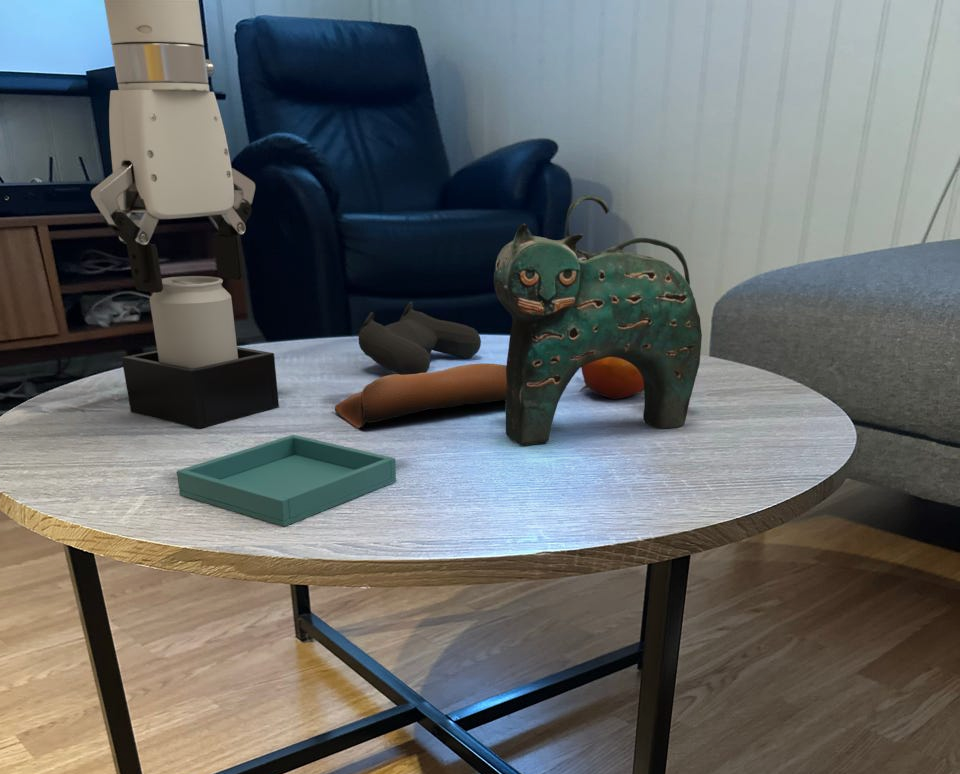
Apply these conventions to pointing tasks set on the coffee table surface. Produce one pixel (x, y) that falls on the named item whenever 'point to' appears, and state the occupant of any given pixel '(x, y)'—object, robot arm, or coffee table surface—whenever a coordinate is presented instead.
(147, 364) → the box
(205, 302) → the can
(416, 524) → the coffee table surface
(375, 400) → the sunglasses case
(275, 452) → the tray
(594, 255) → the ceramic cat
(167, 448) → the coffee table surface
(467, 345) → the gaming controller
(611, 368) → the fruit
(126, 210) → the robot arm
